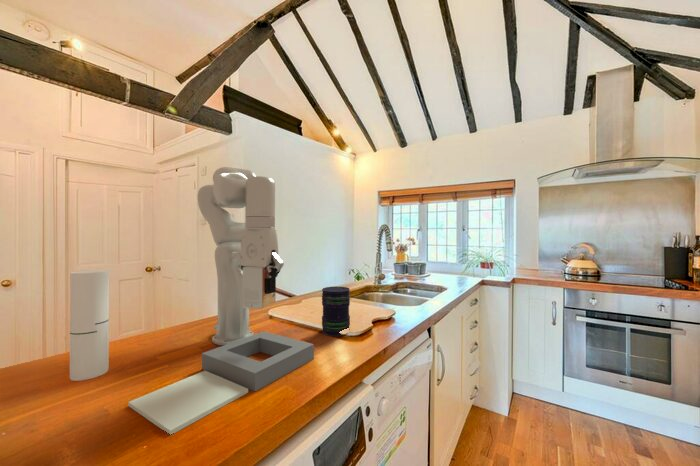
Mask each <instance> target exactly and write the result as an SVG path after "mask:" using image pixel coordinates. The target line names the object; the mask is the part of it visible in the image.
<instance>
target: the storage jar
mask: <svg viewBox="0 0 700 466" xmlns="http://www.w3.org/2000/svg"><path fill="white" fill-rule="evenodd" d="M350 294H351V293H350V288H349V287H346V286H328V287H327V286H326V287H323V288H322V294H321V305H322V316H321V328H322V329H323V330H321V333H322V334H323V335H326V336H329V337H341V334H340V333H339V332H340V331H342V330H344V329H347V328H349V329H350V327H351V320H350V319H351V316H350V304H351V302H350V301H351V296H350ZM349 326H350V327H349Z"/></svg>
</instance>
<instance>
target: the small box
mask: <svg viewBox="0 0 700 466" xmlns="http://www.w3.org/2000/svg"><path fill="white" fill-rule="evenodd" d="M269 270H270V272H271V269H269ZM242 275H243V290H242V308H249V310H250V309H253V310H263V309H265V308H266V307H268V306H270V305H273V304H275V303H276V301H277V300H276V298H277V297H276V296H277V295H276V294H277V292H274V293H270V294H265V278H267V276H266V274H265V268H259V267H243V271H242Z"/></svg>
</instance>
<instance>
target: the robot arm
mask: <svg viewBox="0 0 700 466" xmlns="http://www.w3.org/2000/svg"><path fill="white" fill-rule="evenodd" d="M212 182H213V183H212V184H206V185H203V186H201V187H200V188H199V189H198V191H197V195H196V196H197V197H196V198H197V204H198V208H199V212H200V214H201V215H202V217H203V218H204V219H205V221H206V222H207V224H208V226H209V228H210V232H211V235H212V238H213V242H214V244H215V245H216V246H217V247H216V248H215V250H214V262H215V268H216V274H217V275H216V276H217V324H215V325H213V326H212V327H213V329H214V330H216V334H214V335H213V336H212V338H211V341H212V343H213V344H214V345H218V346H224V345H227V344H230V343H232V342H235V341H238V340H241V339H244V338H246V337H249V336H252V335H255V334H254V333H255V332H254V331H252V330H251V329H250V308H242V290H243V267H259V268H265V274H266V276H267V278H265V294H270V293H274V292H276V291H277V288H276V287H277V283H276V282H277V279H276V278H278V275H279V274H280V272H281V270H282V268H283V267H284V265H285V263H284V261H283V260H282V259H281V258H280V256H279V242H278V234H277V230H276V182H275V180H274V179H273V178H271V177H267V176H261V175H256V174H255V173H254V172H253V171H252V170H249V169H242V168H236V167H228V166H223V167H219V168H217V169H216V170H215V171H214V173H213V175H212ZM226 208H227V209H229V208H230V209H243V208H244V209H245V210H244V211H245V216H244V217H245V218H244V220H245V221H244V222H237V221H235V220H234V217H233V216H232V214H231V213H230V212H229V211H227V210H226ZM269 269H271V272H270V270H269ZM276 293H277V292H276Z"/></svg>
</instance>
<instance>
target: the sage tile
mask: <svg viewBox="0 0 700 466" xmlns="http://www.w3.org/2000/svg"><path fill="white" fill-rule="evenodd" d="M246 394H249V389H248V388H245V387H243V386H240V385H238V384H236V383H233V382H231V381H229V380H226V379H224V378H222V377H219V376H217V375H214V374H212V373H210V372H207V371H205V370H203V371H200V372H198V373H195V374H194V375H191V376H188V377H185V378H183V379H180V380H178V381H176V382H174V383H172V384H169V385H166V386H164V387H162V388H159V389H156V390H154V391H151V392H149V393H146V394H144V395H143V396H140V397H137V398H134V399H132V400H130V401H128V407H129V408H130V409H132V410H134V411H135V412H136V413H138V414H139V415H140V416H142V417H143V418H145V419H146V420H148V421H149V422H151V423H152V424H154V425H155V426H156V427H158V428H160V429H161V430H162V431H163V430H164V431H163V432H165V431H166V432H167V433H166V432H165V433H166V434H168V433H169V434H170V435H169V434H168V435H169V436H172V435H173V433H174V434H176V433H177V432H179V431H182V430H183V429H185V428H186V427H188V426H190V425H192V424H193V423H195V422H197V421H199V420H201V419H203V418H204V417H206V416H208V415H210V414H211V413H213V412H215V411H217V410H219V409H222V407H224V406H226V405H228V404H230V403H231V402H233V401H235V400H238V399H239V398H240V397H243V396H244V395H246ZM171 434H172V435H171Z"/></svg>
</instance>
